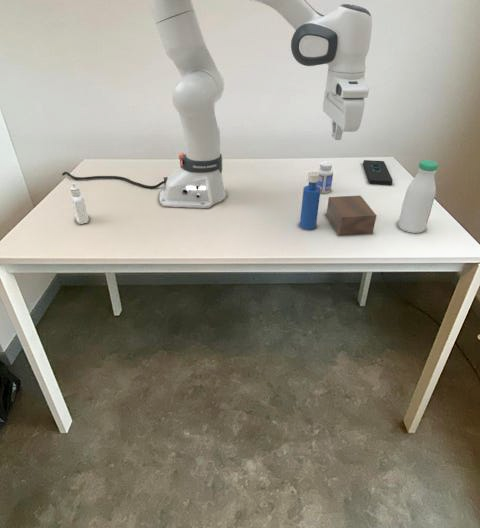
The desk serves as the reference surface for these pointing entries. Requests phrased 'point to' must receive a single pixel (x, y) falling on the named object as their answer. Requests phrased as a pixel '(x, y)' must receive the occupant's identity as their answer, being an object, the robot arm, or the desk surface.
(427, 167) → the milk bottle
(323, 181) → the pill bottle
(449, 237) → the desk surface
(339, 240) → the desk surface
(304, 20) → the robot arm
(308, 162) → the desk surface
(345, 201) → the wooden box
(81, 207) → the eye dropper bottle
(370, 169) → the smart home device
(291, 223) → the desk surface
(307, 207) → the bottle
